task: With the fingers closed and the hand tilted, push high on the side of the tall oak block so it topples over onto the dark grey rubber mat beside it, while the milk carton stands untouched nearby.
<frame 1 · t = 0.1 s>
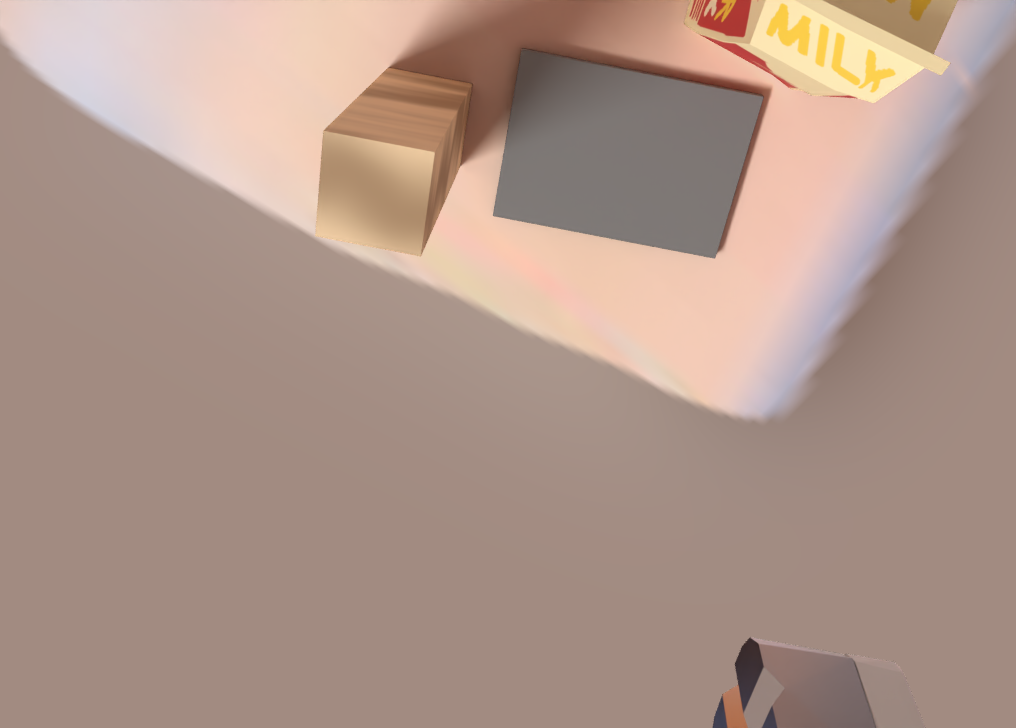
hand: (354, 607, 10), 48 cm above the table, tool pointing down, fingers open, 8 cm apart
block: (425, 118, 55), on the table
mat: (622, 156, 55), on the table
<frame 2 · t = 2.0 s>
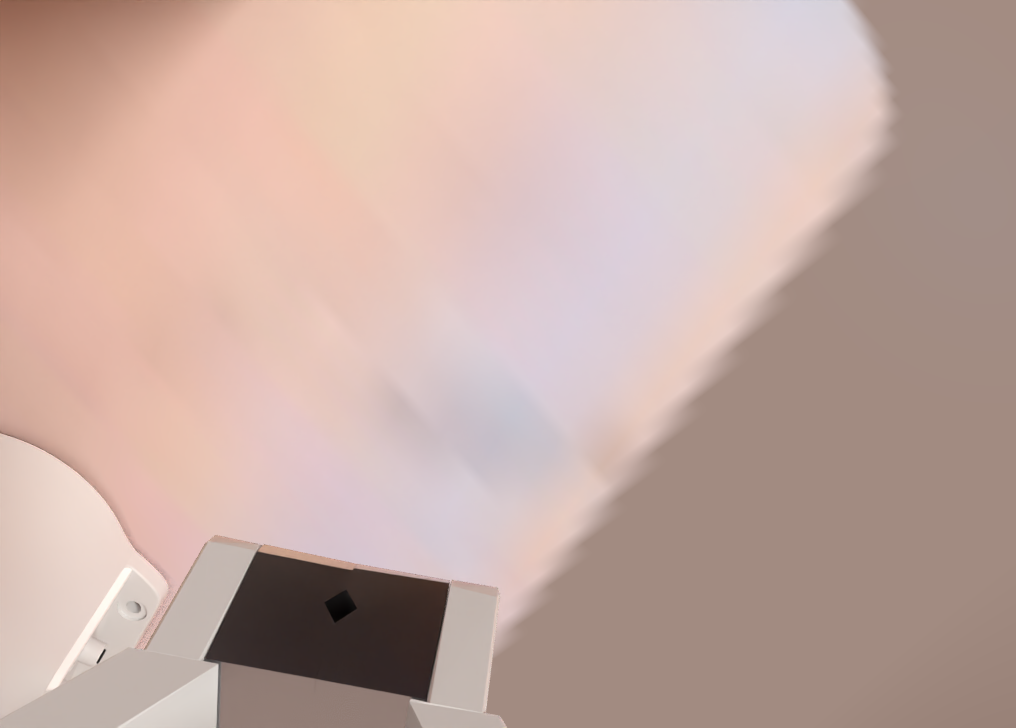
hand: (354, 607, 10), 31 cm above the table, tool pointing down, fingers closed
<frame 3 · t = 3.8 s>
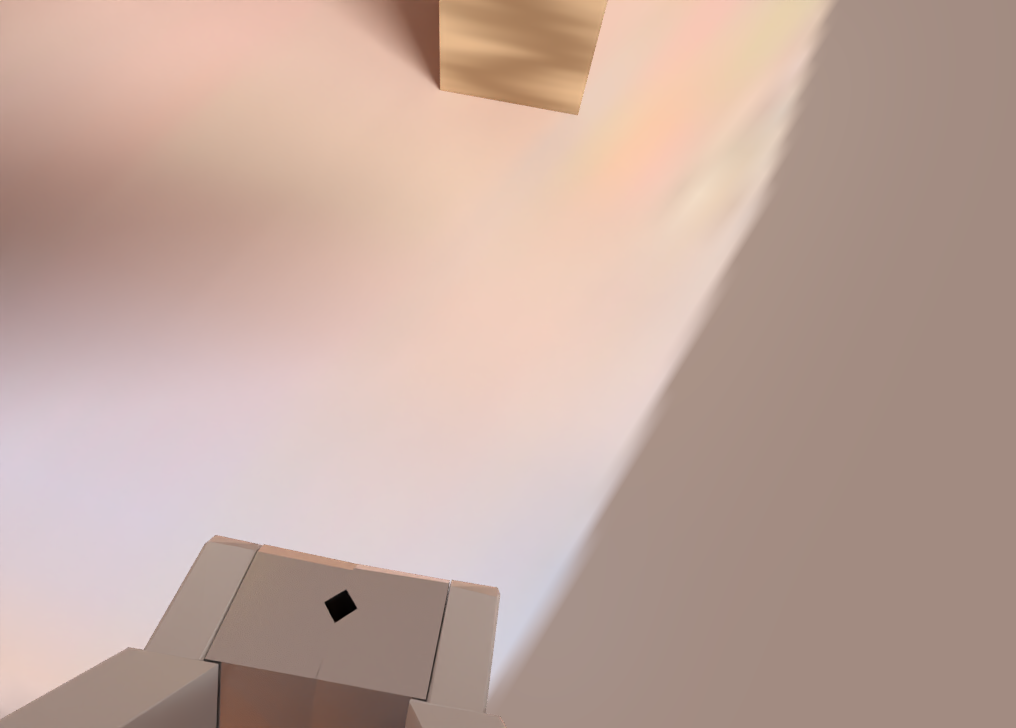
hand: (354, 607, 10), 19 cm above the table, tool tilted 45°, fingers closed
block: (520, 42, 34), on the table
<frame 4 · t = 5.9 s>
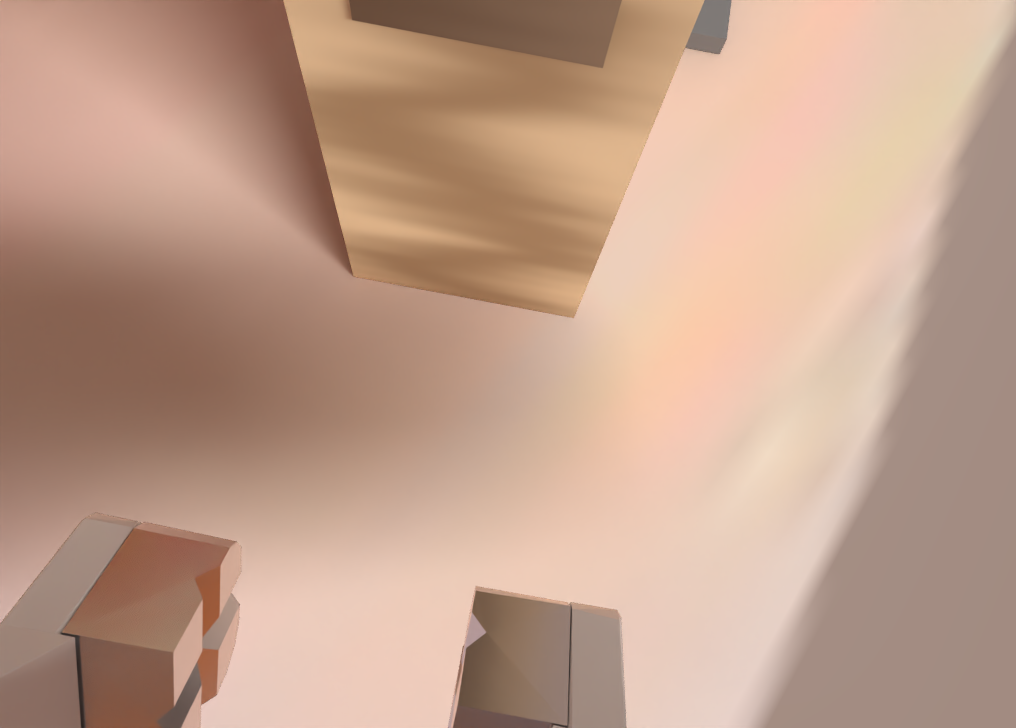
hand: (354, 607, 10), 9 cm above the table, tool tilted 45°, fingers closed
block: (483, 197, 21), on the table
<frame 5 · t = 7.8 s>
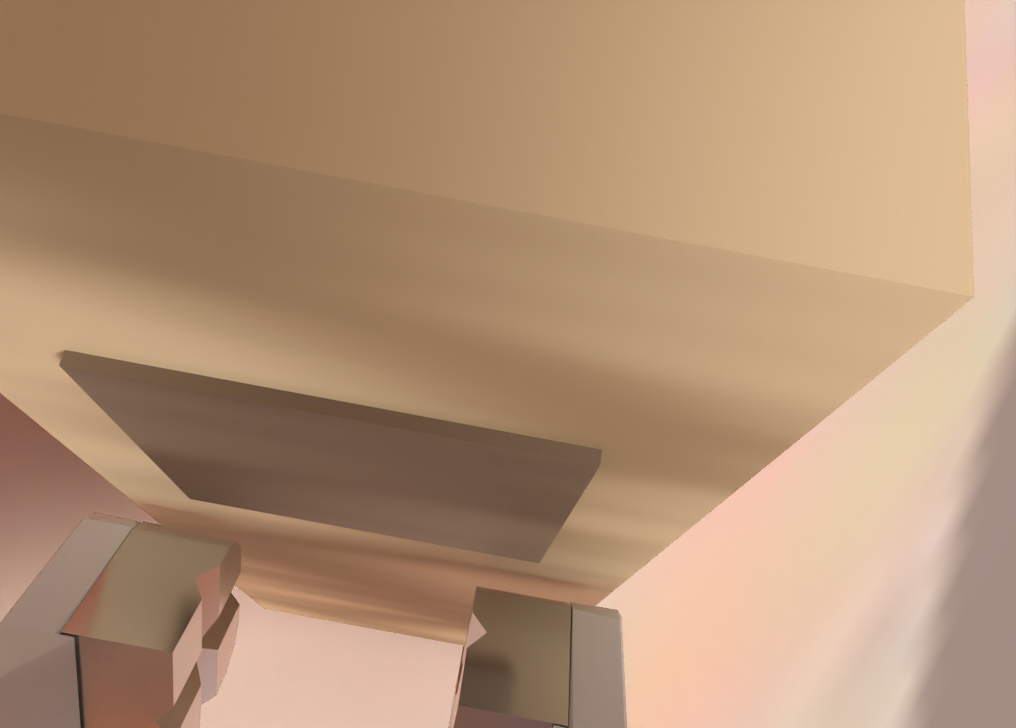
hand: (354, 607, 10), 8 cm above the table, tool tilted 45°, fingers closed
block: (425, 502, 18), on the table, tilted 6°, touching gripper
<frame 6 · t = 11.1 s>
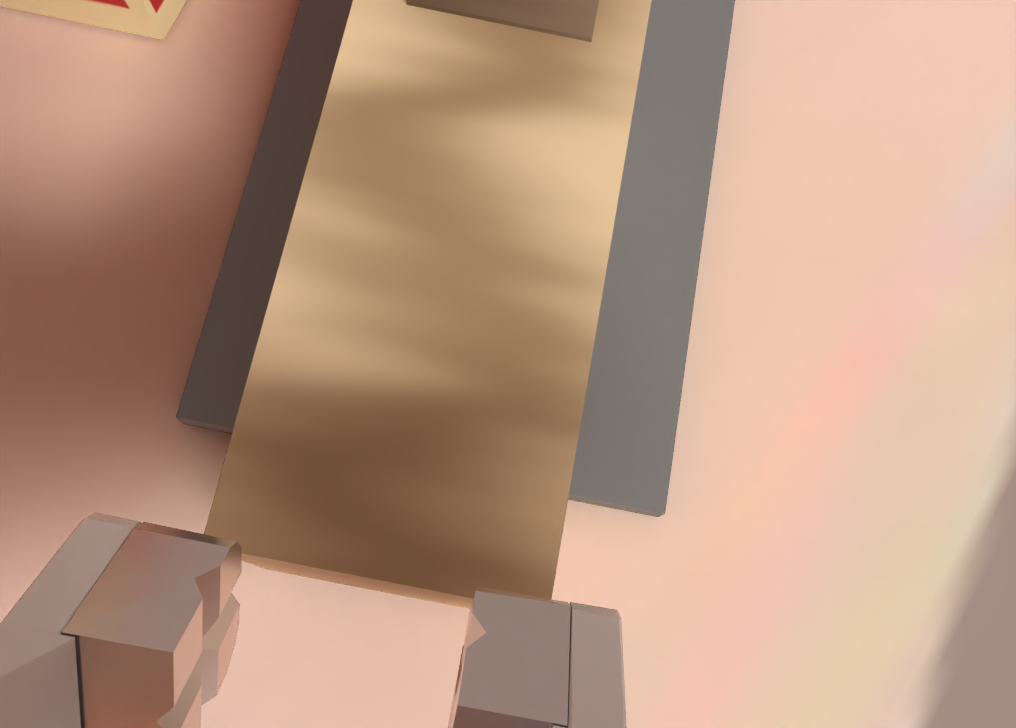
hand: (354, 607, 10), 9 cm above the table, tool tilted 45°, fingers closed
block: (385, 587, 15), point 3 cm above the table, tilted 90°, touching mat
mat: (486, 172, 21), on the table
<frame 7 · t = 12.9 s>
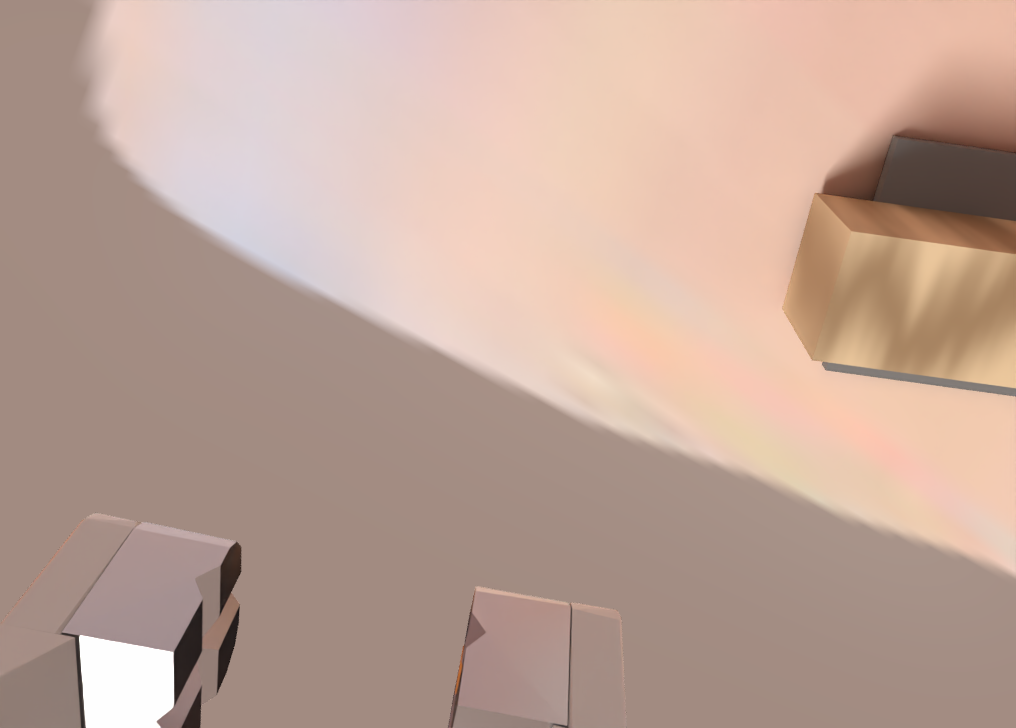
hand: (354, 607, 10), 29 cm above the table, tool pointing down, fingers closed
block: (813, 273, 35), point 3 cm above the table, tilted 90°, touching mat
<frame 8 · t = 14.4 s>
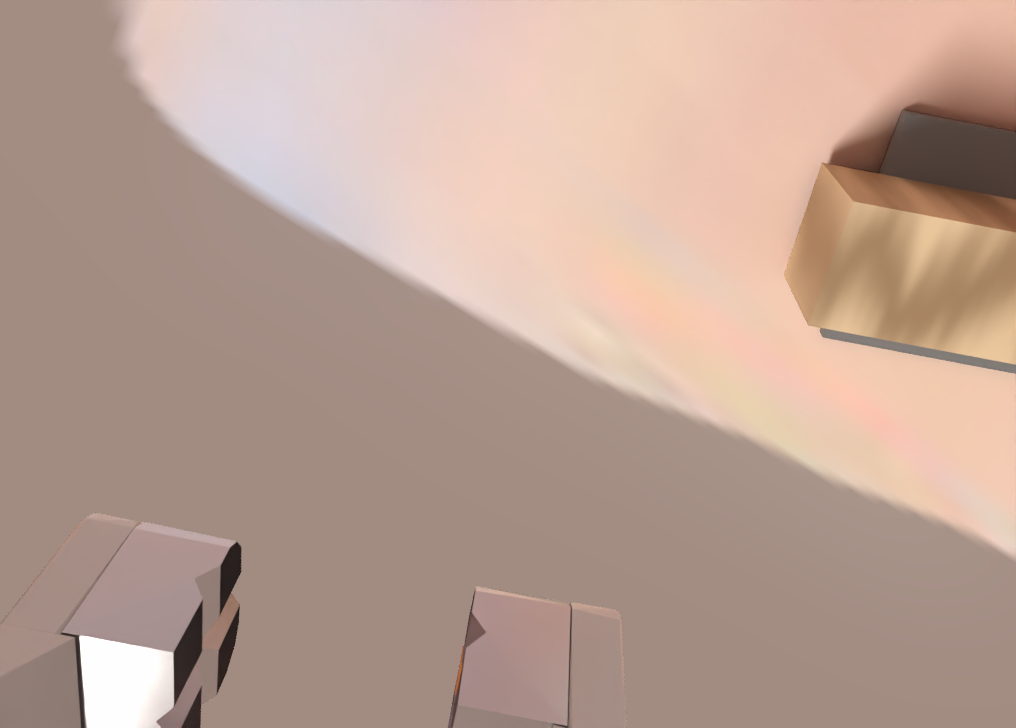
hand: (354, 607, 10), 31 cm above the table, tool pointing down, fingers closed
block: (815, 241, 36), point 3 cm above the table, tilted 90°, touching mat
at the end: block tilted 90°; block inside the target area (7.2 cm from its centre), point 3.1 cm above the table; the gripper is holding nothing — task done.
